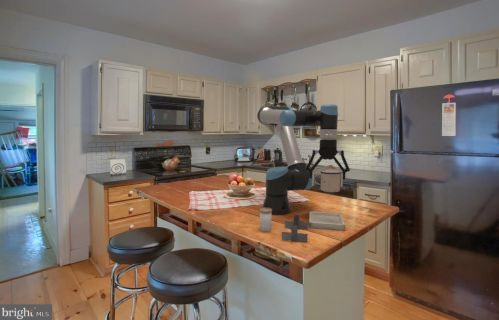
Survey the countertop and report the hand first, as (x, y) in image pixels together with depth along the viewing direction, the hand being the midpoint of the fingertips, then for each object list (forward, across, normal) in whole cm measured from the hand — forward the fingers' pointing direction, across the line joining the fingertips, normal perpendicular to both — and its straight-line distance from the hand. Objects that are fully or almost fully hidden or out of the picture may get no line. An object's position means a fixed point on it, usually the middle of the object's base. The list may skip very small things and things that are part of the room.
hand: (326, 186), depth 129 cm
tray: (+17, 0, 0) cm, 17 cm away
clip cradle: (+18, -13, -18) cm, 28 cm away
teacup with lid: (+2, 0, 0) cm, 2 cm away
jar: (+17, -26, -15) cm, 35 cm away
